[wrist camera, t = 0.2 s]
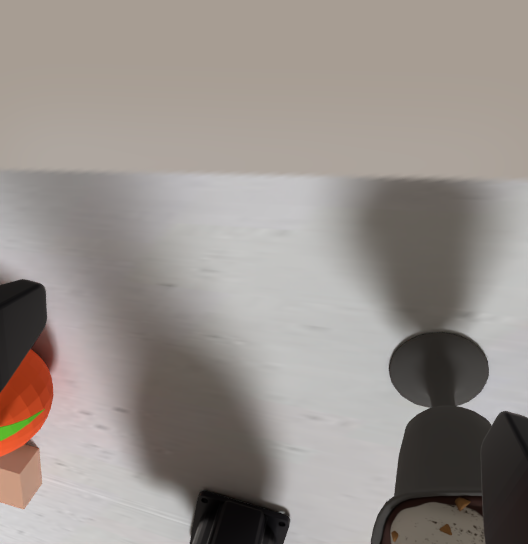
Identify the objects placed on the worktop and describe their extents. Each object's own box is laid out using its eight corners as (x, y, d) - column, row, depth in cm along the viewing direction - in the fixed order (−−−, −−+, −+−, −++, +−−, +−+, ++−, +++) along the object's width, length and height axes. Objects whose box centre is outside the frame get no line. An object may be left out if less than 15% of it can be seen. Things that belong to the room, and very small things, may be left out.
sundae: (362, 324, 26) (346, 651, 13) (503, 311, 24) (655, 681, 11) (380, 420, 28) (383, 768, 15) (508, 415, 26) (633, 808, 14)
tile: (43, 480, 38) (24, 509, 36) (-4, 466, 39) (-27, 493, 36) (41, 446, 36) (19, 474, 34) (-10, 431, 37) (-34, 458, 34)
